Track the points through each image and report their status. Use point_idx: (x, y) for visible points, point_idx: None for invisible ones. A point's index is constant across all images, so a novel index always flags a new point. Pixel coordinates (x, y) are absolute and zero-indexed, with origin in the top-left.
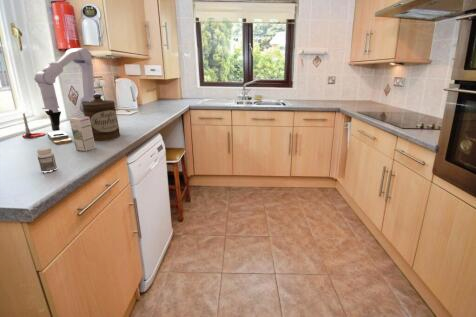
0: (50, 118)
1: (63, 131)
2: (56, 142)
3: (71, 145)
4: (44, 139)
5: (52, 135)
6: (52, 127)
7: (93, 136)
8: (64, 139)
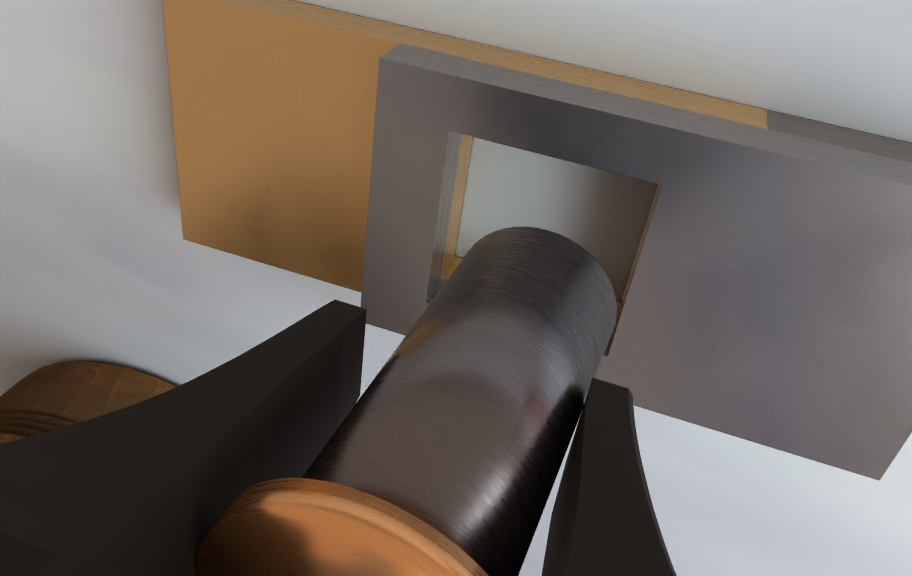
0: (372, 458)
1: (767, 445)
2: (166, 8)
3: (3, 111)
4: (894, 24)
5: (582, 155)
6: (478, 271)
7: (2, 402)
8: (261, 182)
